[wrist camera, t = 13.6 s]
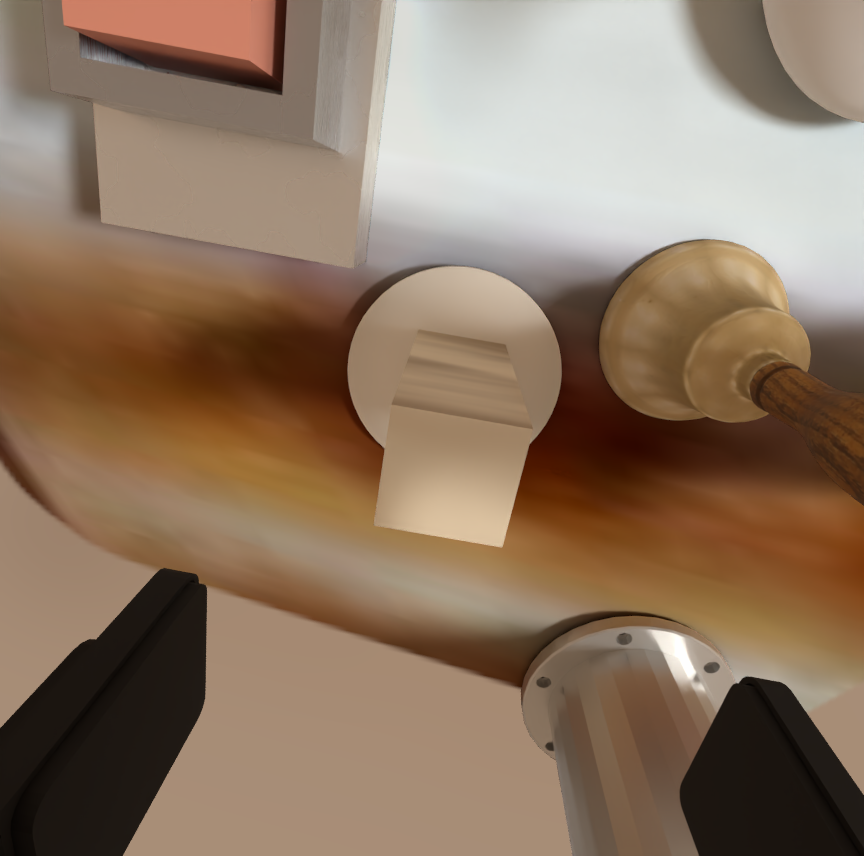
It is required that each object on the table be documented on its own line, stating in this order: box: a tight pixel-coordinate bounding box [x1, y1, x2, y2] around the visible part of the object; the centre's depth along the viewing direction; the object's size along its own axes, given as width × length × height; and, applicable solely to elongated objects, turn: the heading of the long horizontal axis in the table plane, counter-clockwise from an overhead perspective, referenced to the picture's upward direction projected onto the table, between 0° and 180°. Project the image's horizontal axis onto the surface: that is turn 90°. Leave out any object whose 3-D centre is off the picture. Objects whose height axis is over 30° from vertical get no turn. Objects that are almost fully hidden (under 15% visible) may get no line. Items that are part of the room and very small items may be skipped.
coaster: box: [347, 266, 562, 448], centre depth 25 cm, size 10×10×1 cm
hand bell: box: [599, 240, 864, 505], centre depth 17 cm, size 8×8×16 cm
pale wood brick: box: [374, 329, 533, 547], centre depth 20 cm, size 4×4×10 cm
